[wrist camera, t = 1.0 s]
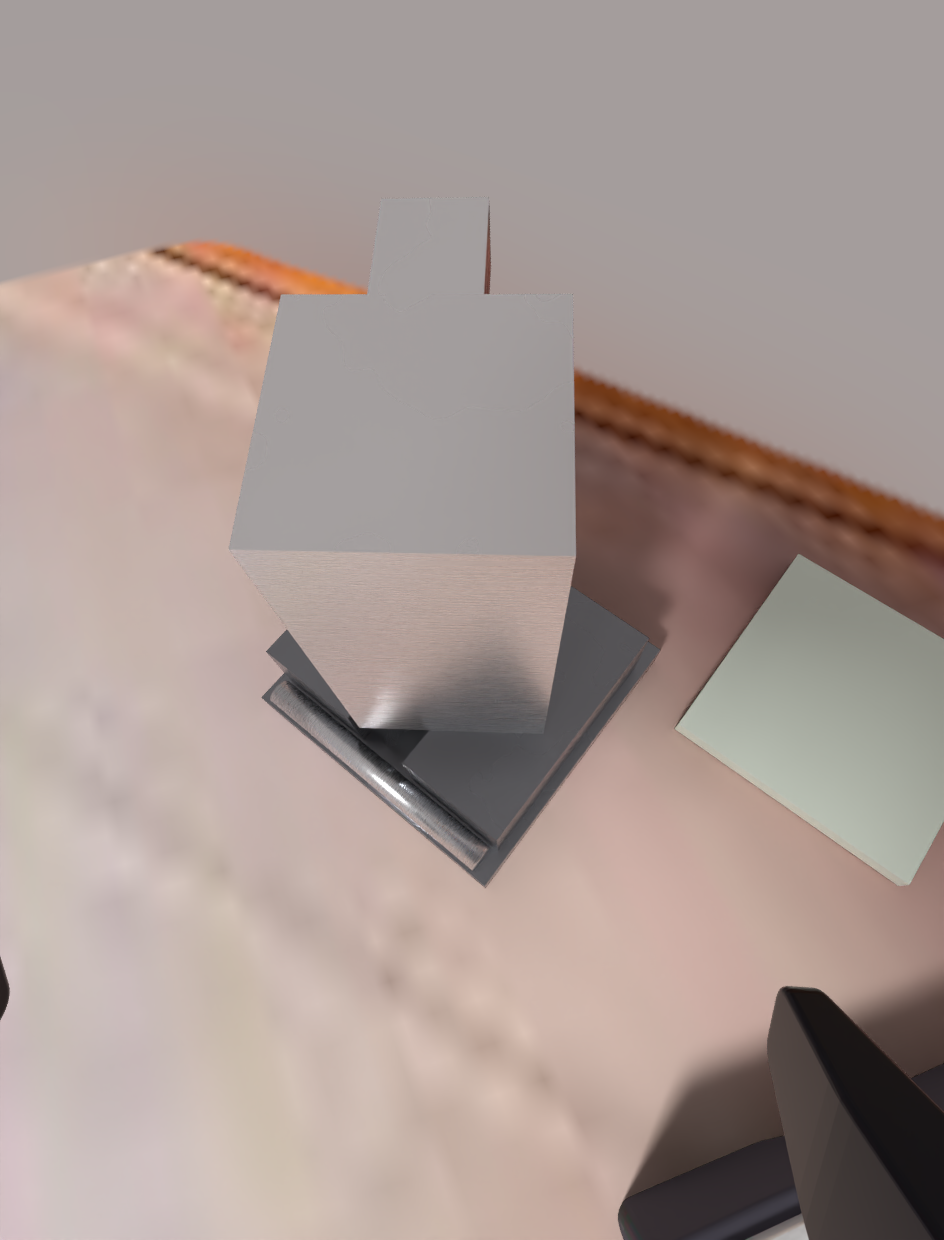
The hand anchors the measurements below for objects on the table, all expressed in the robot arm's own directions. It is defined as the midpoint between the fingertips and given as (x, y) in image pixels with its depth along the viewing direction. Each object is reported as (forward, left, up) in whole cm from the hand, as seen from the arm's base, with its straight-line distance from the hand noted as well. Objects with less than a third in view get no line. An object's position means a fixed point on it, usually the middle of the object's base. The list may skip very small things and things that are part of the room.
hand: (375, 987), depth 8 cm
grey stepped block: (+7, +6, -10) cm, 14 cm away
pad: (+13, -5, -13) cm, 19 cm away
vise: (+6, +5, -13) cm, 16 cm away
